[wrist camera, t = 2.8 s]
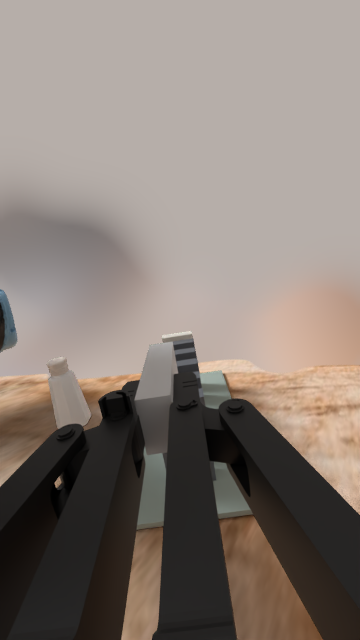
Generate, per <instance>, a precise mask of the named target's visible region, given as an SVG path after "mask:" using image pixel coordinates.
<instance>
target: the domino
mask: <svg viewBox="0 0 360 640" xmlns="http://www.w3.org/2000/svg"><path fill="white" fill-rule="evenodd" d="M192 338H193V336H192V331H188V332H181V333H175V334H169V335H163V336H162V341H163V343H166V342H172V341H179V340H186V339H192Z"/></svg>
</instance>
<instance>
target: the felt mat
mask: <svg viewBox="0 0 360 640" xmlns="http://www.w3.org/2000/svg"><path fill="white" fill-rule="evenodd" d="M200 379H201V385H202V389H203V394H204V400H205V406H206V407H209V408H214V409H218V408H219V405H220V404H221V403H222V402H224V401H226V400H229V399H232V398H231V395H230V393H229V390H228V387H227V385H226V382H225V379H224V376H223V374H222V371H214V372H207V373H200ZM143 454H144V458H145V464H146V465H145V472H144V479H143V487H142V494H141V501H140V508H139V515H138V522H137V529H136V530H139V529H146V528H154V527H161V526H164V506H165V486H166V468H165V463H164V458H163V454H162V453H160V454H153V455H147V453H146V449H145V447H144V453H143ZM214 467H215V474H216V480H215V481H213V485H214V492H215V498H216V505H217V511H218V518H219V519H221V518H229V517H236V516H244V515H251V514H253V513H252V511H251V510H250V508H249V506H248V504H247V502H246V501H245V499H244V497H243V495H242V493H241V492H240V490H239V488H238V486H237V485H236V483H235V481H234V479H233V477H232V476H231V474H230V472H229V470H228V468H227V465H226V463H221V462H214Z"/></svg>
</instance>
